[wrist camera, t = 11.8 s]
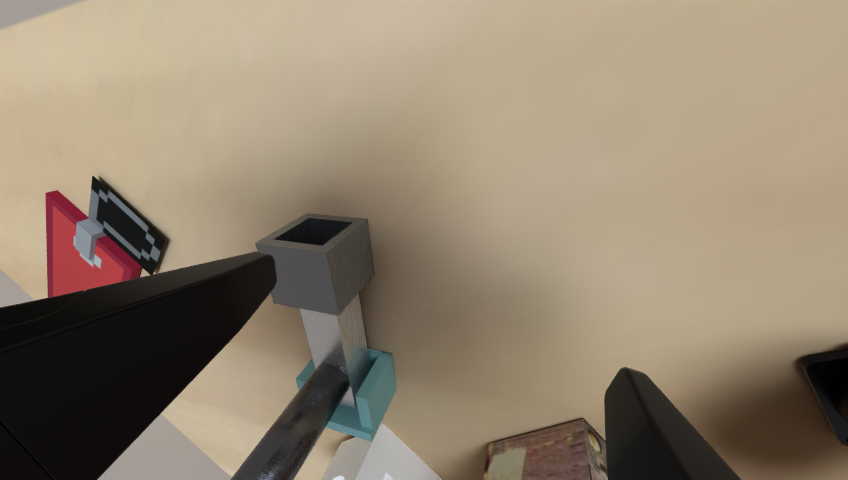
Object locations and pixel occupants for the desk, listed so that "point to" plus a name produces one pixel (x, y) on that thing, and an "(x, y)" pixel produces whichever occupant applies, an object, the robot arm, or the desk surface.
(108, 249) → the red board with handle
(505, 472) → the book
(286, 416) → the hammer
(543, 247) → the desk surface
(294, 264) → the outer sleeve
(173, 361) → the robot arm
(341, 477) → the bracket
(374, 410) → the socket block
